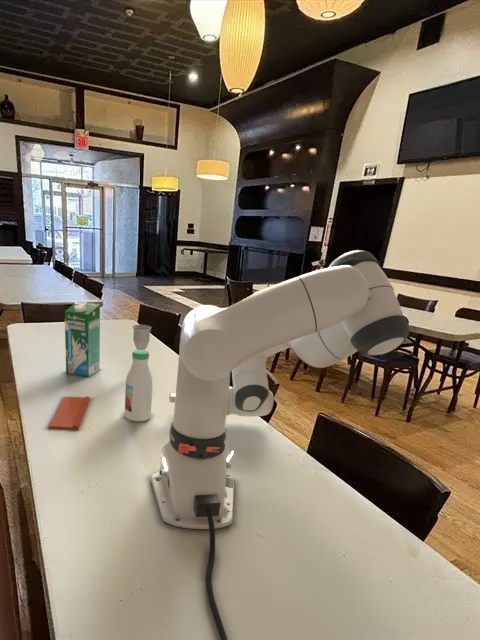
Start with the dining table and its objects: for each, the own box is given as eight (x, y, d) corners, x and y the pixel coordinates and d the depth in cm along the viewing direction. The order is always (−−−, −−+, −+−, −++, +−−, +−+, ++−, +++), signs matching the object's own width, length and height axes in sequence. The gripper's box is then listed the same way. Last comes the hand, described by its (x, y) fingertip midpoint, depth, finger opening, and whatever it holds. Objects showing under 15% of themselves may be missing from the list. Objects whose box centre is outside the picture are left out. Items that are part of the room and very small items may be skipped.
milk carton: (65, 372, 150) (64, 304, 141) (78, 365, 158) (77, 300, 149) (88, 377, 148) (88, 308, 139) (99, 369, 156) (100, 303, 147)
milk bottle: (152, 412, 125) (156, 349, 118) (148, 423, 118) (152, 357, 111) (127, 409, 126) (129, 346, 119) (121, 420, 119) (124, 354, 111)
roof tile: (78, 429, 112) (78, 425, 112) (48, 428, 111) (48, 424, 111) (90, 399, 130) (90, 396, 130) (64, 398, 130) (64, 395, 130)
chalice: (128, 371, 157) (129, 324, 151) (144, 369, 160) (147, 324, 153) (134, 377, 151) (136, 329, 144) (151, 376, 154) (154, 329, 147)
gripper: (213, 377, 130) (169, 374, 129) (222, 404, 111) (170, 401, 110) (211, 395, 132) (168, 393, 131) (219, 425, 113) (169, 422, 112)
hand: (169, 397), depth 120 cm, fingers closed
